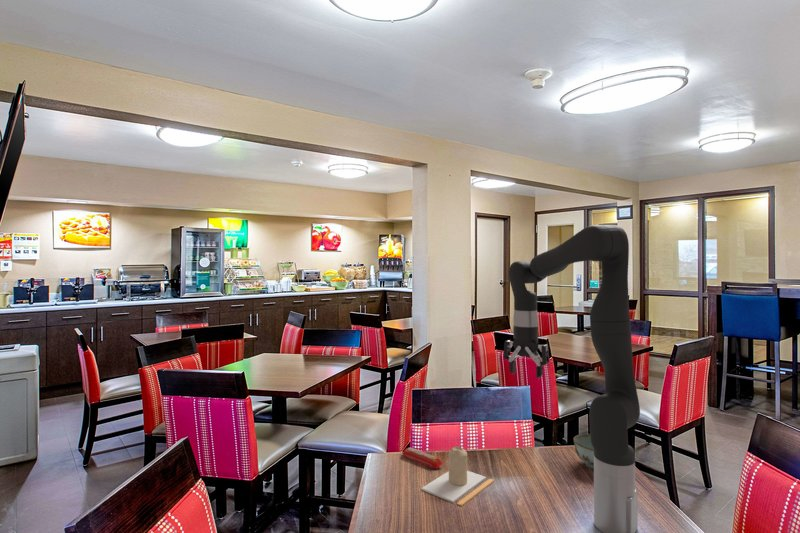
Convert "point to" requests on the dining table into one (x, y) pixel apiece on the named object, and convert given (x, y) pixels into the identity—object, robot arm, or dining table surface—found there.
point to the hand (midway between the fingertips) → (525, 375)
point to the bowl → (584, 449)
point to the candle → (458, 466)
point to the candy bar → (422, 458)
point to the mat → (452, 486)
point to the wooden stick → (475, 492)
